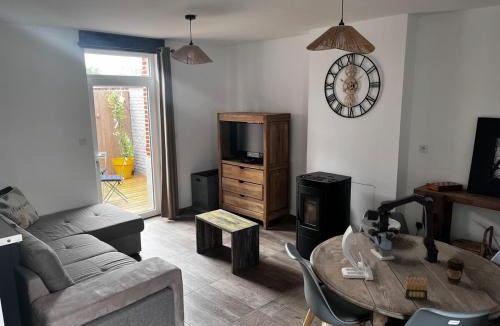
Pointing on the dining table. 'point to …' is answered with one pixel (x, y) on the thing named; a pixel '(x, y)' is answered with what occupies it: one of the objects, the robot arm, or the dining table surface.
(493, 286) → the dining table surface
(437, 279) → the dining table surface
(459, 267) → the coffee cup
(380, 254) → the white grey bracket mount
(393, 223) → the decorative bowl
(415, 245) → the dining table surface
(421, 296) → the ammunition clip
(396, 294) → the dining table surface
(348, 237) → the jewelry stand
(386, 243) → the blue tapered block
